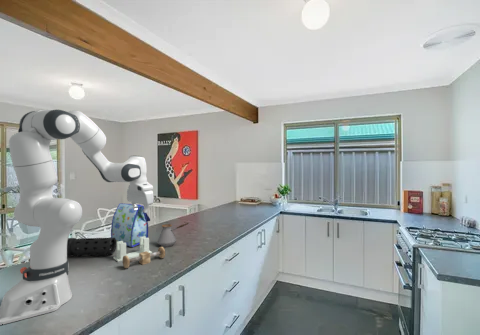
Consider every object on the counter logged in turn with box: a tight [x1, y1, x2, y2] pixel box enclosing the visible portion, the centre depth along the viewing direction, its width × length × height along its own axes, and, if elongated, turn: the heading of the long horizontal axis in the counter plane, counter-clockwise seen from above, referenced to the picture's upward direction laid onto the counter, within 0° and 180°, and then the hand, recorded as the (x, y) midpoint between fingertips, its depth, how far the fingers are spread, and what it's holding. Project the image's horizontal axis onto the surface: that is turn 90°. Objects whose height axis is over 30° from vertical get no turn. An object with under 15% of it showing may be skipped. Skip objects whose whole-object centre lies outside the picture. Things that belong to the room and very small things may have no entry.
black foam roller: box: [67, 237, 117, 257], centre depth 144 cm, size 10×28×10 cm, turn 93°
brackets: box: [113, 236, 153, 262], centre depth 143 cm, size 19×7×9 cm, turn 135°
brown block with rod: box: [122, 246, 166, 269], centre depth 132 cm, size 20×6×6 cm, turn 135°
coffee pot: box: [157, 222, 190, 248], centre depth 161 cm, size 21×12×15 cm, turn 79°
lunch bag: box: [110, 203, 151, 248], centre depth 168 cm, size 22×17×26 cm
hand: (140, 211), depth 135 cm, fingers open, 8 cm apart
